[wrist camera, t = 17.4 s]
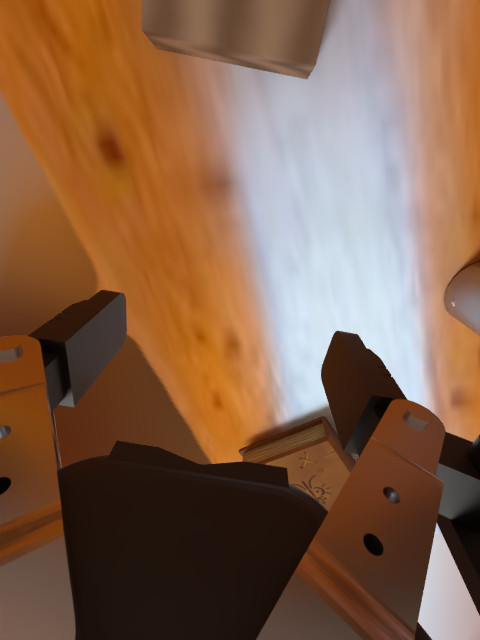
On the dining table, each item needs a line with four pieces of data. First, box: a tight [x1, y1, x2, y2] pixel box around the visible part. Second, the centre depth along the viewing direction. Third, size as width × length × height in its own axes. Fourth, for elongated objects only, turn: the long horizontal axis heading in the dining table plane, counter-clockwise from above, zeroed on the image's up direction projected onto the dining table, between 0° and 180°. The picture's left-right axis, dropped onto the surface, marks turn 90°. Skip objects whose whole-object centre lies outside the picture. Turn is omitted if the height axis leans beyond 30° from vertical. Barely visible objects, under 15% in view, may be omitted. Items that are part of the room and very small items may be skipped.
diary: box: [239, 417, 356, 511], centre depth 57 cm, size 23×19×6 cm
